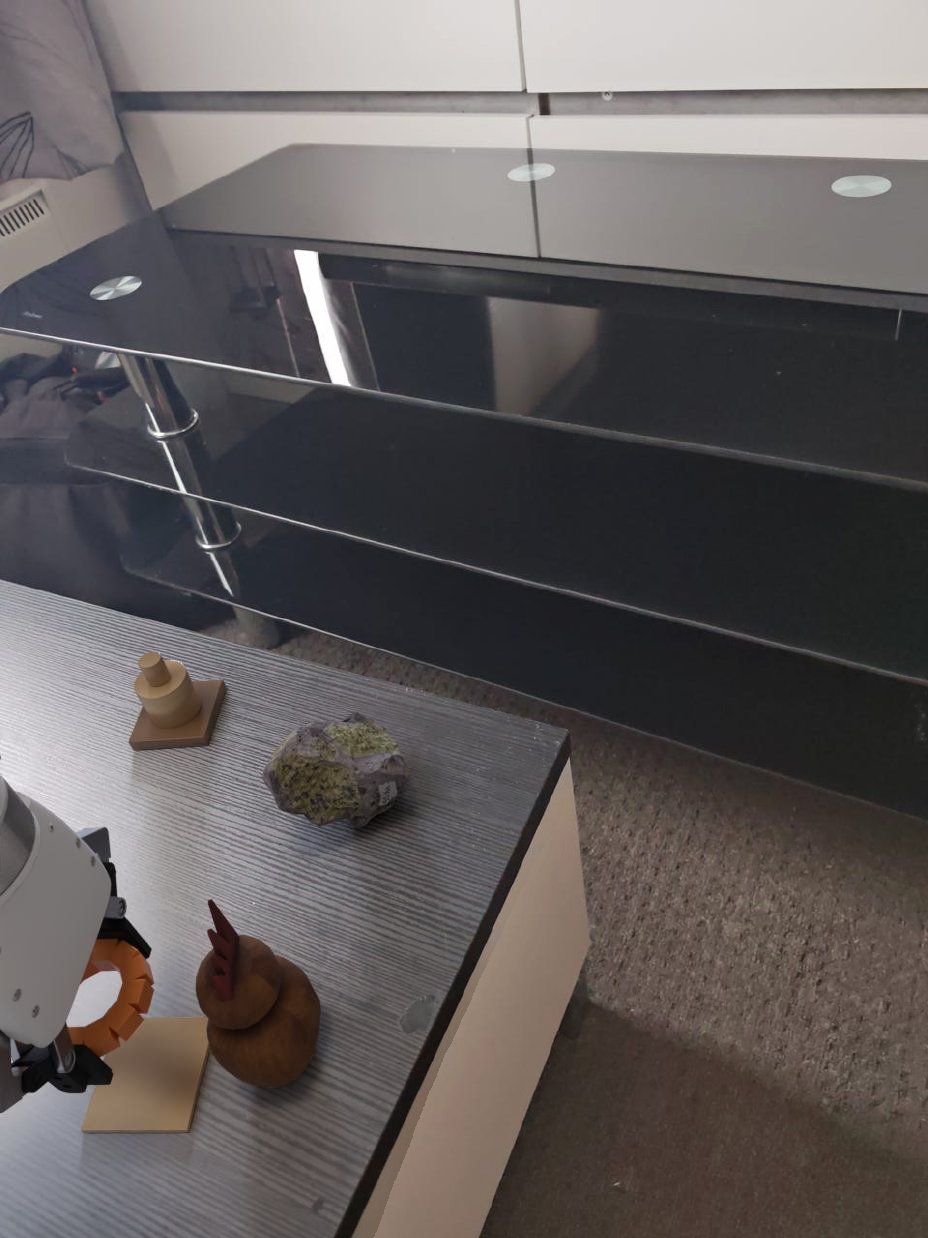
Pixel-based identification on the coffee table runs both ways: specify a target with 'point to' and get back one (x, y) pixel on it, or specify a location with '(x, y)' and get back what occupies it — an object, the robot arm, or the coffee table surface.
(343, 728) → the rock
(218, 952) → the wooden figurine
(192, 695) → the post
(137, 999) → the ring
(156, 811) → the coffee table surface
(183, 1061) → the coaster
